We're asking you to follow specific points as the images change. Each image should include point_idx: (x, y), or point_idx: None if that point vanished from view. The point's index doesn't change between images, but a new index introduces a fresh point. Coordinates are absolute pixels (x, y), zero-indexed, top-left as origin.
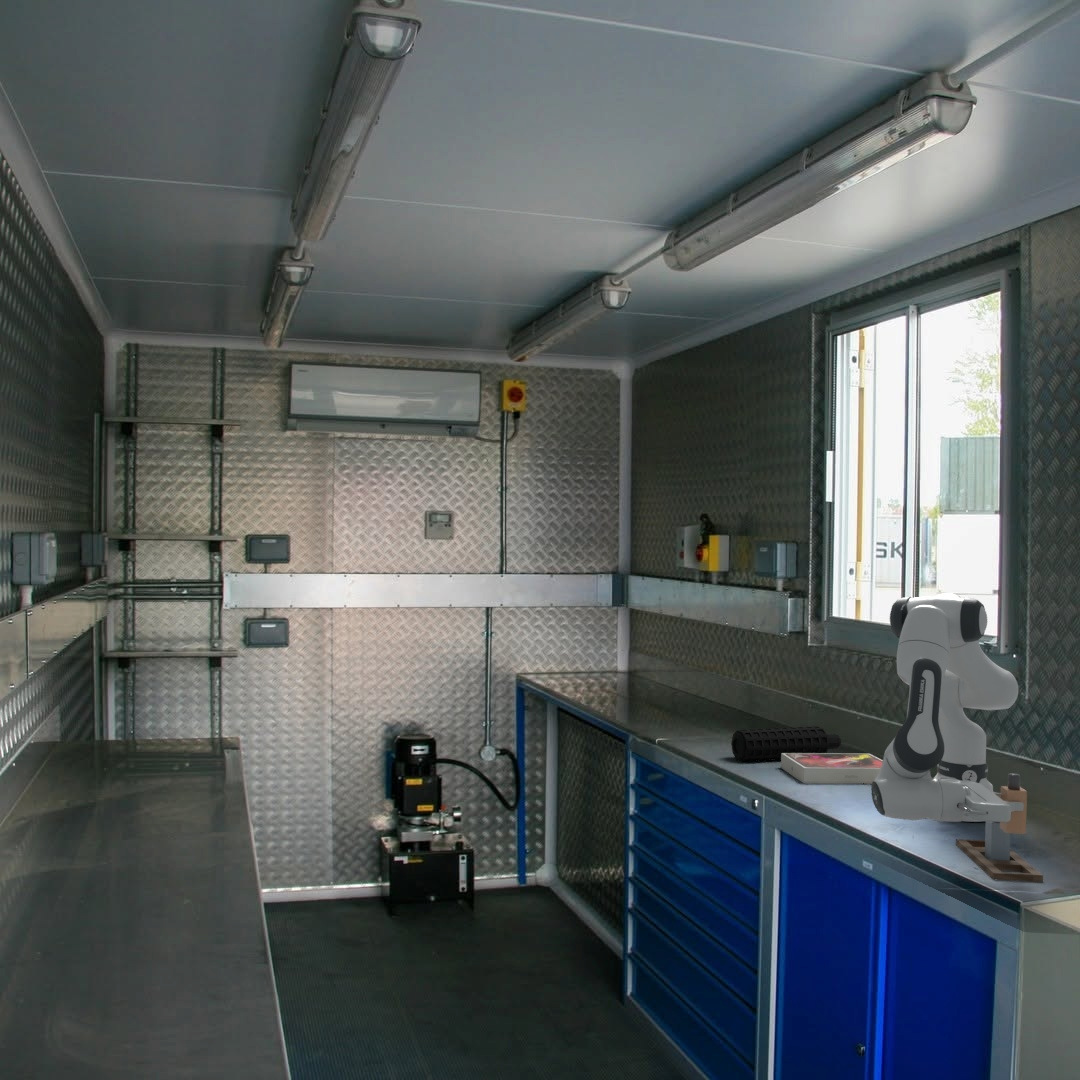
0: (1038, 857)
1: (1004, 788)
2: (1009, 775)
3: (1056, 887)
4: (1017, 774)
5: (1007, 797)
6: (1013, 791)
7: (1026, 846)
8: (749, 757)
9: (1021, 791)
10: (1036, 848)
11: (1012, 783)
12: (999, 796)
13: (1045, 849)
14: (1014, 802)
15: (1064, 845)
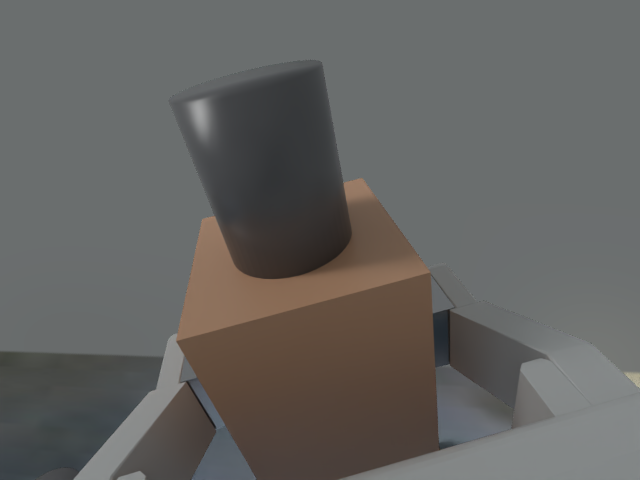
0: None
1: (316, 302)
2: (283, 93)
3: (465, 404)
4: (235, 75)
5: (432, 335)
6: (402, 239)
7: (11, 464)
8: None
9: (374, 200)
10: (42, 434)
11: (333, 179)
12: (163, 443)
13: (60, 410)
14: (491, 304)
15: (42, 366)
